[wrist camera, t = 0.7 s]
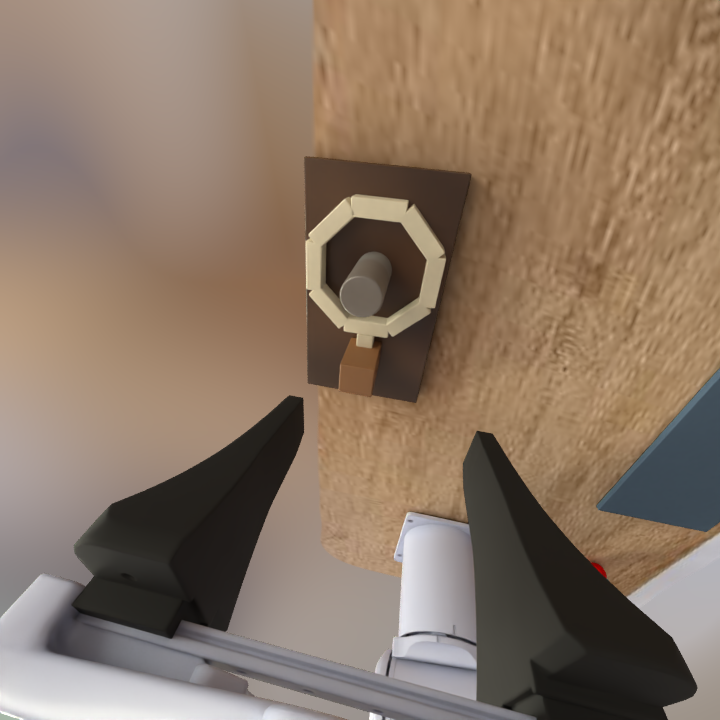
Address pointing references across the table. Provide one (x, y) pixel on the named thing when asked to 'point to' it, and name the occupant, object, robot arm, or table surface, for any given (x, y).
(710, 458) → the mat
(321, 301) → the octagonal ring with handle
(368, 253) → the peg stand
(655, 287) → the table surface
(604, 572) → the candy
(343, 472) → the table surface
